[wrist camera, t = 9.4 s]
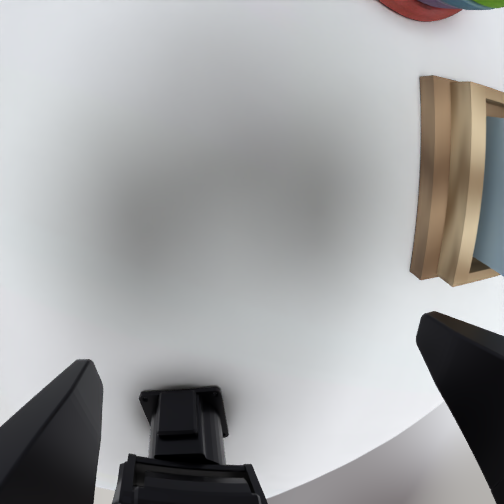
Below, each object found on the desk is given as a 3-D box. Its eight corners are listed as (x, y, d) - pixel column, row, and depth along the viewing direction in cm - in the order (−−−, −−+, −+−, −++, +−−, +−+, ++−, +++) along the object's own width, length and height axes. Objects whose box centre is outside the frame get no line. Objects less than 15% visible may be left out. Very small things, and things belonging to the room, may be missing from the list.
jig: (503, 254, 24) (528, 268, 20) (409, 271, 22) (436, 293, 19) (517, 104, 18) (546, 107, 15) (419, 76, 17) (453, 73, 14)
